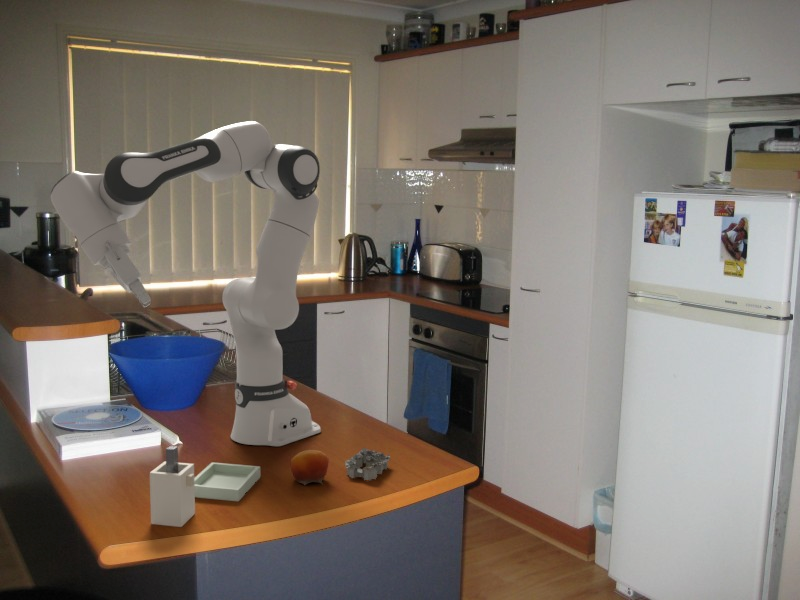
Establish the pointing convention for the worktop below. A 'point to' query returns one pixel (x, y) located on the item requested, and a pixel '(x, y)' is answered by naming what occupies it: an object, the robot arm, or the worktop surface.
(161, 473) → the white square cup
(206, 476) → the tray
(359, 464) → the egg carton
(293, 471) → the fruit
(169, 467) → the post
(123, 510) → the worktop surface
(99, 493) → the worktop surface
